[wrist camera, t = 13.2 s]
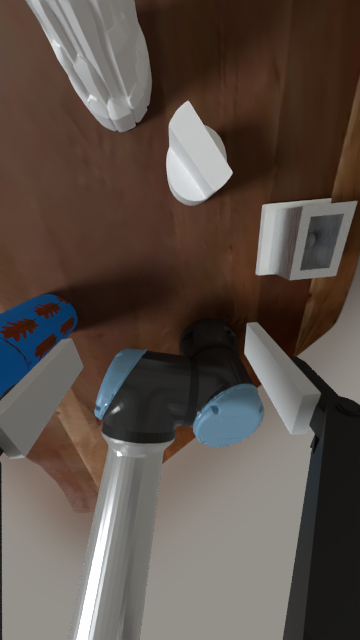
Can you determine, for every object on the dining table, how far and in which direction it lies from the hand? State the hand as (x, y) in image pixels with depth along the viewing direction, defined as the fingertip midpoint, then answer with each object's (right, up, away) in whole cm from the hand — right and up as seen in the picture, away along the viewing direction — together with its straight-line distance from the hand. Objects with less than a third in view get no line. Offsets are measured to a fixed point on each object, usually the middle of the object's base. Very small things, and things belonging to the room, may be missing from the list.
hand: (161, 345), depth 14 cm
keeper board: (+24, +19, +24) cm, 38 cm away
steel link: (+24, +18, +23) cm, 37 cm away
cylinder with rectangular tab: (+4, +28, +19) cm, 34 cm away
